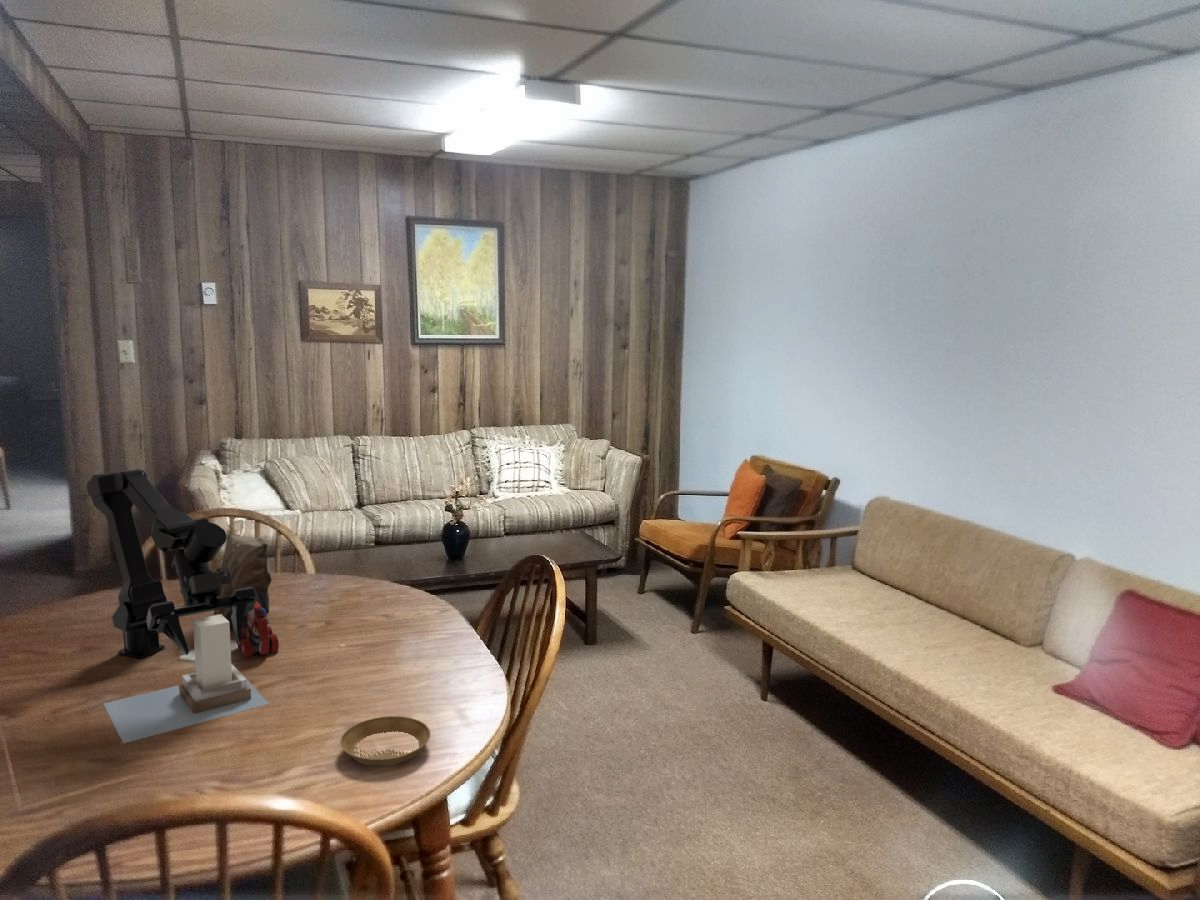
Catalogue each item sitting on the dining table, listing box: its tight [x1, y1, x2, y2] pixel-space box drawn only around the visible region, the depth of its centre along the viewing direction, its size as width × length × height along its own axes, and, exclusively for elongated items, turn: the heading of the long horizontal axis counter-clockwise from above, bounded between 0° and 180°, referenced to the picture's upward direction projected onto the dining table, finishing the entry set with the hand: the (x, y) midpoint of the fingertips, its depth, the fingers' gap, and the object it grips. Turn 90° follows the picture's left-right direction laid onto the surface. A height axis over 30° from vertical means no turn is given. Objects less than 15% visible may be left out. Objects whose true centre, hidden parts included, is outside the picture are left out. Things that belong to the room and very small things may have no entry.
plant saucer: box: [340, 715, 431, 767], centre depth 141 cm, size 15×15×3 cm
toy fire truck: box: [235, 601, 280, 659], centre depth 179 cm, size 7×12×10 cm, turn 35°
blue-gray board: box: [103, 670, 270, 745], centre depth 154 cm, size 18×24×1 cm
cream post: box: [192, 614, 232, 689], centre depth 156 cm, size 5×5×13 cm
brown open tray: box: [178, 663, 251, 714], centre depth 157 cm, size 10×10×4 cm
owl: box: [213, 533, 272, 631], centre depth 195 cm, size 13×13×20 cm
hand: (213, 647), depth 155 cm, fingers open, 9 cm apart
